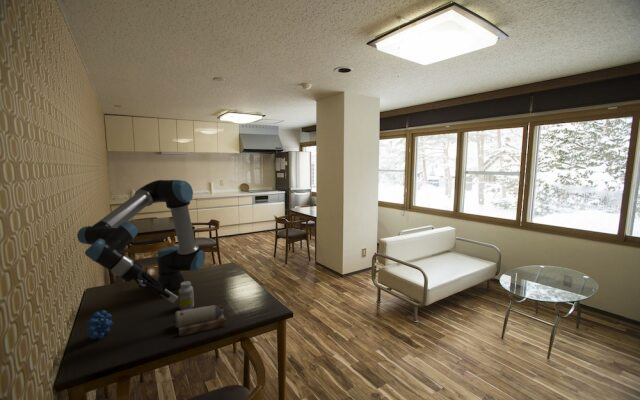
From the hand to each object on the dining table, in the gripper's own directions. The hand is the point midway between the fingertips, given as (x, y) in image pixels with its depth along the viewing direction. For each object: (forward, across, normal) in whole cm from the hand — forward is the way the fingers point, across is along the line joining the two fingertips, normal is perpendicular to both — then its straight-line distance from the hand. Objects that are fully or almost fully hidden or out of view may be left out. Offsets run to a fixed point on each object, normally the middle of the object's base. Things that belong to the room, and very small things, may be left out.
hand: (175, 300), depth 125 cm
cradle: (+16, 0, -2) cm, 16 cm away
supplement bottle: (+13, -19, -6) cm, 23 cm away
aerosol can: (+6, 0, -7) cm, 9 cm away
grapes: (-10, -5, -28) cm, 31 cm away
